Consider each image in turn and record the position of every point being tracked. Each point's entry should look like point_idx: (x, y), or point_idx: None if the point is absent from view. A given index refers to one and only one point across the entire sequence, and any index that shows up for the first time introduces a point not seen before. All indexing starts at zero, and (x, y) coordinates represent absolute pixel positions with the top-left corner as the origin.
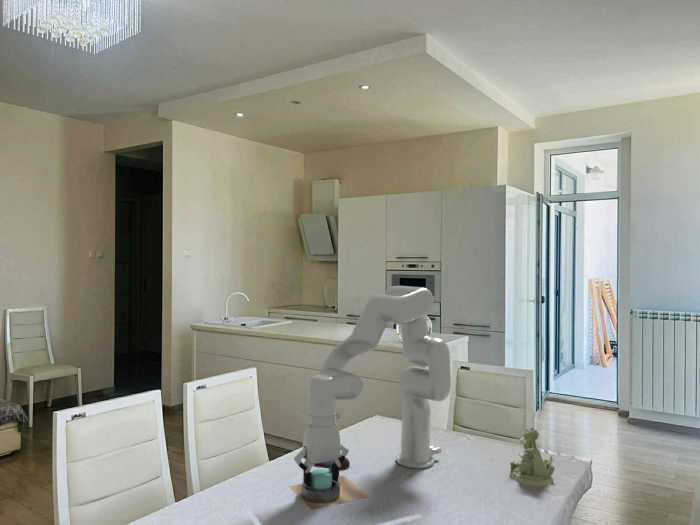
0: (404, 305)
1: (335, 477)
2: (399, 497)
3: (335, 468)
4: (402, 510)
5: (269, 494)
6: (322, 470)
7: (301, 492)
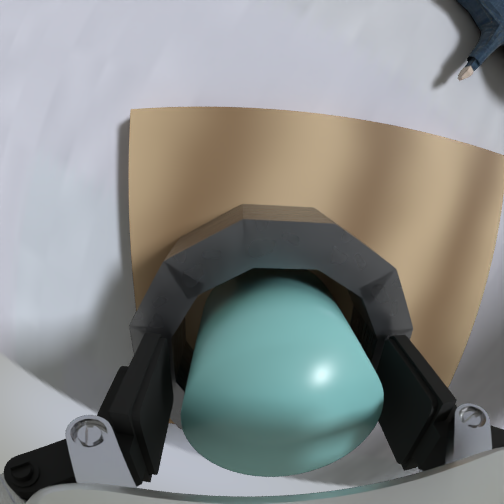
0: None
1: None
2: (495, 397)
3: (401, 460)
4: None
5: (29, 132)
6: (335, 380)
7: (168, 238)
